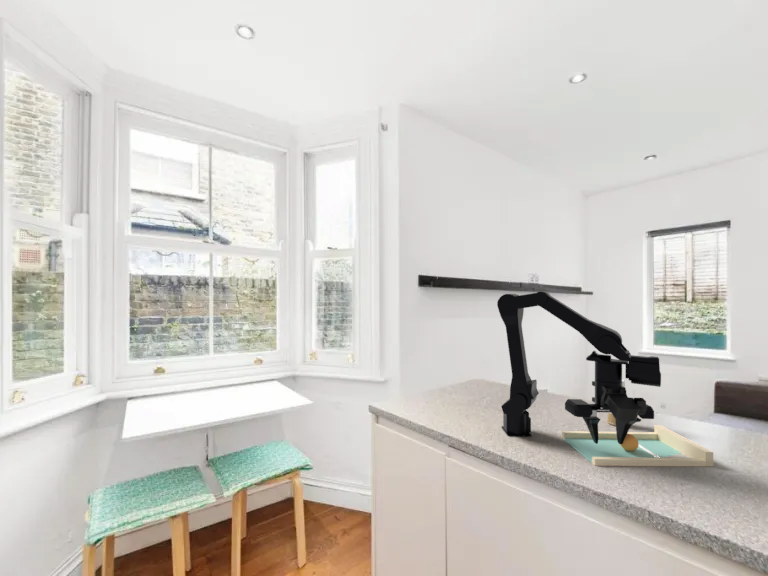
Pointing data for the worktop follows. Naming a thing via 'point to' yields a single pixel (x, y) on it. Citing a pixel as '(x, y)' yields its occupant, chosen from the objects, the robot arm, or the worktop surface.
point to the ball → (630, 443)
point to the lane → (639, 449)
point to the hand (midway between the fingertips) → (608, 443)
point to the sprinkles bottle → (611, 418)
